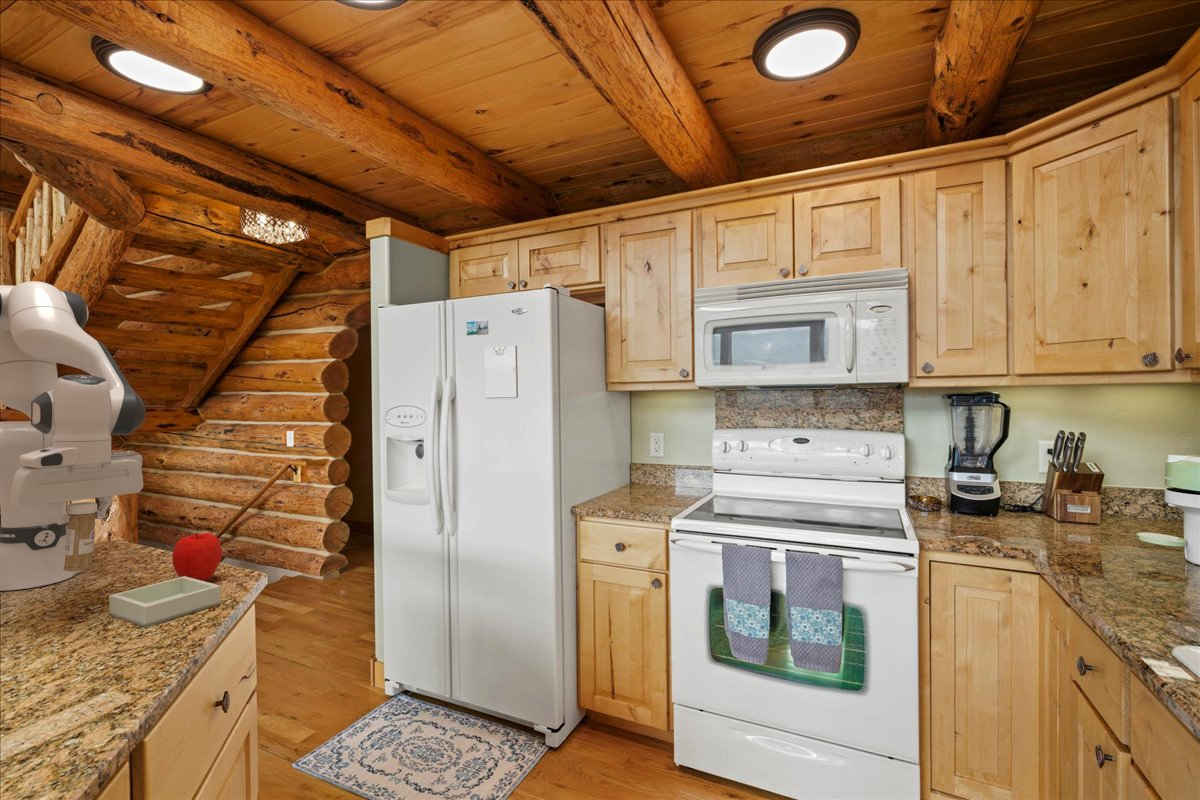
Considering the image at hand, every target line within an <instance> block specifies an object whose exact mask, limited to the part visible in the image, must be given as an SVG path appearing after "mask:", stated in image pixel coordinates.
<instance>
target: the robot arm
mask: <svg viewBox="0 0 1200 800" xmlns="http://www.w3.org/2000/svg"><path fill="white" fill-rule="evenodd" d="M89 315H90V313H89V308H88V305H87V303H86V300H85V299H84V298H83V296H82V295H80V294H78V293H76V292H72V291H68V290H60V289H58V288H57V287H56V286H54V285H52V284H50V283H47V282H44V281H43V282H42V281H25V282H22V283H19V284H17V285H7V284H6V285H5V284H1V285H0V403H1V404H2V405H4V406H5V407H8V408H11V409H14V410H16V411H19V412H21V413H24V414H25V415H26V416H27V417H28V418H29V419H30V420H25V421H24V420H22V421H21V420H19V421H18V420H17V421H0V591H1V592H4V591H16V590H18V591H19V590H24V589H32V588H36V587H37V588H38V587H43V586H47V585H52V584H54V583H55V584H56V583H59V582H63V581H65V580H67V579H70V578H73V577H74V576H75V575H77V574H79V573H82V572H84V571H85V570H82V571H72V572H69V571H65V570H63V568H64V566H65V542H66V529H67V524H68V523H70V520H69V519H70V515H68V514H67V502H74V501H80V500H82V501H83V500H91V499H97V498H99V501H101V503H100V505H99V506H98V507H97V512H95V513H96V514H95V520H100V519H106V515H107V513H106V512H107V509H108V508H109V507H110V505H112V503H113V499H114V497H116V496H120V495H121V496H122V495H128V494H129V495H130V494H138V493H140V492H141V491H142V489H143V488H144V480H143V479H144V478H143V472H142V467H143V455H141V454H140V453H139V452H136V451H134V450H126V451H112V436H113V435H115V436H128V435H130V434H132V433H134V432H135V431H136V430H138V429H139V428H140V427H142V425H143V424H144V423H145V422H146V417H147V411H146V406H145V403H144V400H143V399H142V398H141V397H140V396H139V394H137V392H136V391H135V390H134V389H133V388H132V386H131V385H130V384H129V382H128V380H127V379H126V377H125V376H124V373H122V371H121V369H120V366H118V364H117V362H116V360H115V359H114V358H113V356H112V355H111V353H110V351H109V350H108V348H107V347H106V345H105V344H104V343H103V342H101V341H99V340H97V339H96V338H94V337H92V336H91V335H90V334H88V333H87V332H86V331H84V330H83V328H85V327H86V324H87V321H88V318H89ZM57 364H59V365H60V364H62V365H65V366H70V367H72V368H76V369H80V370H81V371H84V372H86V373H88V374H68V375H66V374H65V375H63V376H60V377H58V376H59V375H58V368H57Z"/></svg>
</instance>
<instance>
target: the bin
mask: <svg viewBox="0 0 1200 800" xmlns="http://www.w3.org/2000/svg"><path fill="white" fill-rule="evenodd" d="M221 590H222V586H221V585H219V584H215V583H212V582H208V581H206V582H205V581H201V580H197V579H193V578H189V577H186V576H183V577H179V576H178V577H176V578H172V579H167V580H163V581H160V582H157V583H153V584H149V585H144V586H141V587H137V588H132V589H128V590H125V591H121V592H117V593H112V594H109V597H108V598H109V599H108V600H109V601H108V605H109V606H108V609H109V610H108V614H109V615H110V616H112V617H115V618H118V619H120V620H124V621H126V622H129V623H132V624H134V625H138V626H140V627H143V628H149V627H151V626H154V625H157V624H158V625H159V624H161V623H164V622H167V621H171V620H173V619H177V618H180V617H183V616H186V615H189V614H193V613H197V612H199V611H203V610H205V609H210V608H212V607H216V606H219V605H221V604H222V603H221V600H222V599H221V596H222V595H221V593H222V591H221Z"/></svg>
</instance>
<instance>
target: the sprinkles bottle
mask: <svg viewBox="0 0 1200 800" xmlns="http://www.w3.org/2000/svg"><path fill="white" fill-rule="evenodd" d="M97 509H98V503H97V502H96V501H95V502H94V501H85V502H83V501H82V502H73V503H69V504H67V505H66V514H67V515H70V519H69V520H70V523H68V524H67V529H66V542H65V566H64V568H63V570H65V571H69V572H72V571H82V570H84V571H86V570H89V569H92V568H94V567H93V566H94V564H93V561H94V560H93V559H94V550H95V533H96V531H95V525H96V519H95V514H96V513H95V512H97ZM82 572H83V571H82Z"/></svg>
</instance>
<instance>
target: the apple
mask: <svg viewBox="0 0 1200 800" xmlns="http://www.w3.org/2000/svg"><path fill="white" fill-rule="evenodd" d="M222 554H223V549H222V544H221V541H220V539H219V538H218V536H217V535H215V534H213V533H210V532H203V533H198V532H196V533H195V534H192V535H187V536H183V537H181V538H179V540H178V541H177V542H176V544H175V545H174V548H173V550H172V554H171V555H172V560H171V561H172V566H173V568H174V571H175V573H176V575H177V576H178V578H179V577H183V576H186V577H189V578H193V579H197V580H201V581H205V582H208V581H209V580H210V579H211V578H212V576H214V574H215V572H216V571H217V569H218V567H219V565H220V562H221V560H222Z"/></svg>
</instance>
